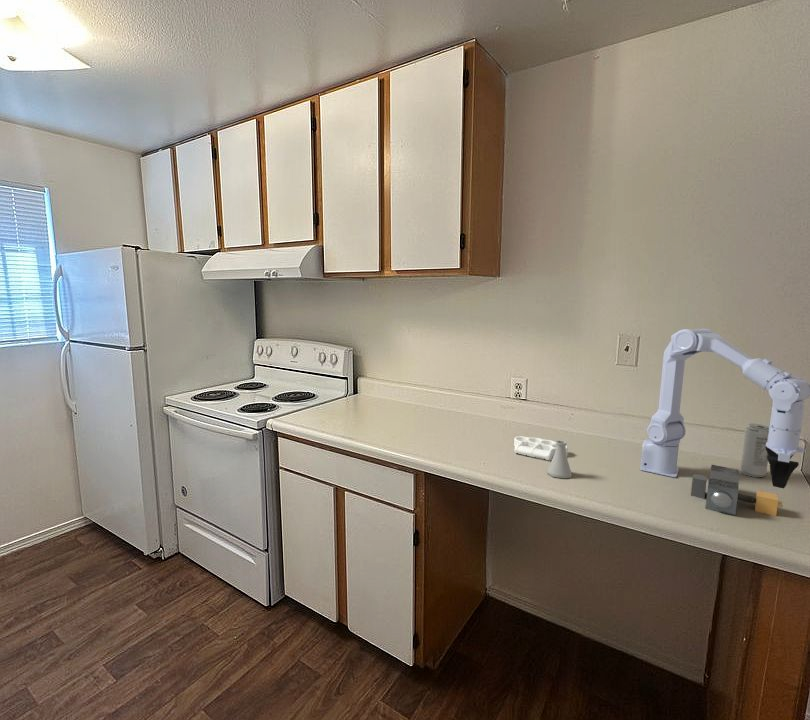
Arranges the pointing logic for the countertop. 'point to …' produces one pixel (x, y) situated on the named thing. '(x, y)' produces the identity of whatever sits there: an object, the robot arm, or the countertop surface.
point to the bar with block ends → (741, 496)
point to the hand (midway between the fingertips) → (777, 481)
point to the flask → (560, 462)
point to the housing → (722, 489)
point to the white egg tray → (535, 447)
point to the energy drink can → (755, 450)
